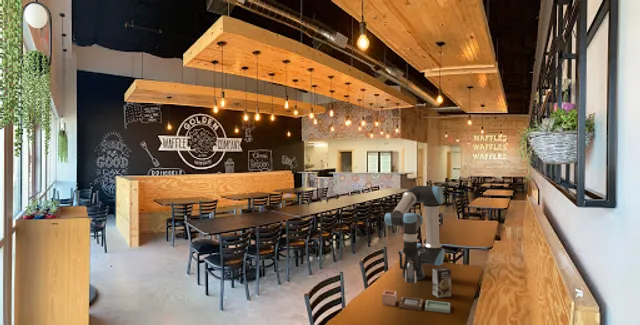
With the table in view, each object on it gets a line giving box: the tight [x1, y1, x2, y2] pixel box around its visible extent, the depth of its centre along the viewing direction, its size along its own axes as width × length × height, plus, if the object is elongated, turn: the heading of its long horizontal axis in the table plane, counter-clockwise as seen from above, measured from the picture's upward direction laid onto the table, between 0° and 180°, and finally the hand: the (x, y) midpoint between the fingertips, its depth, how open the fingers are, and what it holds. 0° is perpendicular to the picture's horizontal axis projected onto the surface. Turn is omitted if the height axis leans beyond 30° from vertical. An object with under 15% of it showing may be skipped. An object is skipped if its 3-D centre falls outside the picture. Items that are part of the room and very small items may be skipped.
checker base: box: [398, 296, 424, 311], centre depth 212 cm, size 12×12×2 cm
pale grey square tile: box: [404, 299, 418, 305], centre depth 212 cm, size 7×7×1 cm
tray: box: [424, 299, 451, 314], centre depth 207 cm, size 10×13×2 cm
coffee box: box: [432, 266, 452, 298], centre depth 226 cm, size 9×6×16 cm
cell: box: [406, 261, 416, 284], centre depth 212 cm, size 5×5×12 cm
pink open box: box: [381, 289, 398, 307], centre depth 215 cm, size 7×7×6 cm
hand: (410, 281), depth 211 cm, fingers closed on cell, 4 cm apart
